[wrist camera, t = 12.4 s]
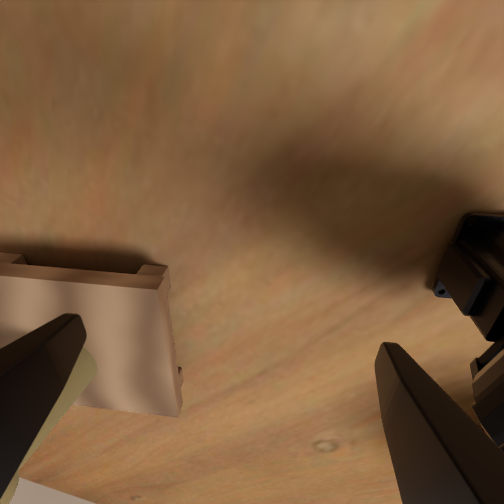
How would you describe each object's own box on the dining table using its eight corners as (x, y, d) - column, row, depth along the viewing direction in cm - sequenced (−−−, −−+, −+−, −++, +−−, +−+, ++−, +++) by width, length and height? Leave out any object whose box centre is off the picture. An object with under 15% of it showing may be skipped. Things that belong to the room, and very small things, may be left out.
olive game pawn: (110, 378, 27) (16, 546, 18) (55, 386, 29) (-59, 544, 19) (70, 328, 24) (-68, 497, 15) (10, 339, 26) (-149, 499, 16)
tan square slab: (173, 261, 24) (157, 289, 21) (188, 384, 32) (177, 417, 29) (-9, 246, 25) (-49, 271, 22) (48, 368, 33) (25, 399, 30)
